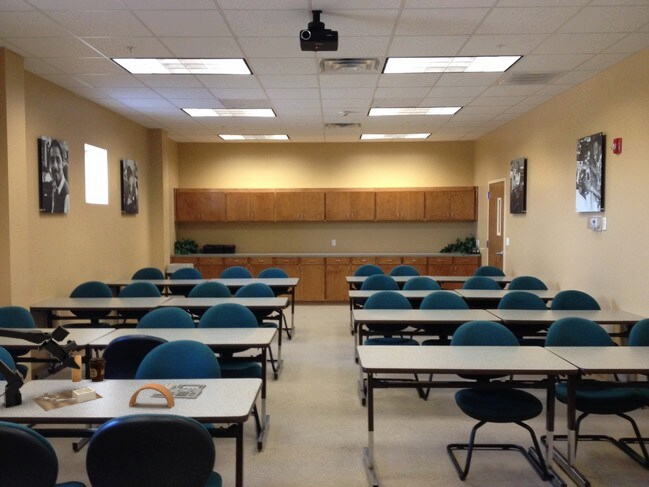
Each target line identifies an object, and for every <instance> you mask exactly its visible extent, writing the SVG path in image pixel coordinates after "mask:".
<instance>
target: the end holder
mask: <svg viewBox="0 0 649 487" xmlns="http://www.w3.org/2000/svg"><path fill="white" fill-rule="evenodd" d="M86 387H87V388H85V387H82V388H83V389H80V388H77V389H78V390H76V389H73V390H74V391H72V397H73V398H75V399H76V402H78V404H82V403H81V402H83V403H86V402H85V401H87V402H90V401H89V400H91V401H94V400H93V399H95V400H97V399H96V393H97V392H96V390H95V389H94V388H92V387H90V386H89V387H88V386H86Z"/></svg>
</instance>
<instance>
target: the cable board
mask: <svg viewBox="0 0 649 487" xmlns="http://www.w3.org/2000/svg"><path fill="white" fill-rule="evenodd" d="M87 387H88V386H84V387H81V388H77V389H73V390H67V391H63V392H59V393H58V392H57V393H54V394H50V395H49V393H48V392H44V393H43V394H39V395H37V396H36V395H35V396H34V398H32V399H31V400H32V401H33V402H35V404H36V405H38V406H39V407H40V408H41V409H42V410H44V411H45V412H48V411H53V410H57V409H62V408H65V407H70V406H73V405H78V404H79V403H78V402H76V399H75V398H73V397H72V391H74V390H78V389H83V388H87ZM103 398H104V397H103V396H102V395H100V394H98V393H97V392H96V399H93V400H89V401H85V402H81V403H80V404H82V403H87V402H92V401H94V400H95V401H96V400H99V399H103Z"/></svg>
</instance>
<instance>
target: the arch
mask: <svg viewBox="0 0 649 487" xmlns="http://www.w3.org/2000/svg"><path fill="white" fill-rule="evenodd" d="M164 386H165V385H162V384H160V383H155V382H154V383H153V382H152V383H151V382H150V383H147V384H144V385H142V386H141V387H140V388H139V389H137V390H136V391H135V392H134V393H133V394H132V396H131V397H130V400H129V404H128V408H132V407H134V406H135V404H136V403H137V398H138V397H139V394H140V392H142V391H145V390H153V391H155V392H157V391H158V392H160V393H161V394H162V395H163V396H164V397H165V398H164V399H165V400H166V402H167V408H168V409H171V408H172V407H173V406H174V405H175V398H173V396H172V394H171V392H170V391H169V390H168V389H167V388H166V387H164Z"/></svg>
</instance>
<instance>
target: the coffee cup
mask: <svg viewBox="0 0 649 487" xmlns="http://www.w3.org/2000/svg"><path fill="white" fill-rule="evenodd" d="M106 363H107V361H106V359H105V358H104V357H92V358H90V359H89V361H88V366H89V367H88V368H89V376H90V380H91V383H99V382H103V381H104V378H105V369H106V367H105V366H106Z"/></svg>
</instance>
